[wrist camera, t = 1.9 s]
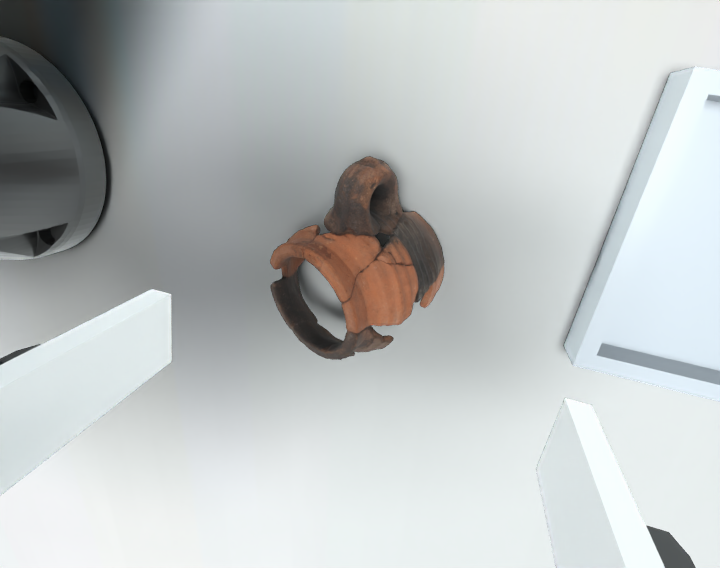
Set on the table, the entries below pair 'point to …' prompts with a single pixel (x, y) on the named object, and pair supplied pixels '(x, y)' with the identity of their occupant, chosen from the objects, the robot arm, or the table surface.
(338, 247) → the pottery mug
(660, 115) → the tray
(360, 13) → the table surface
